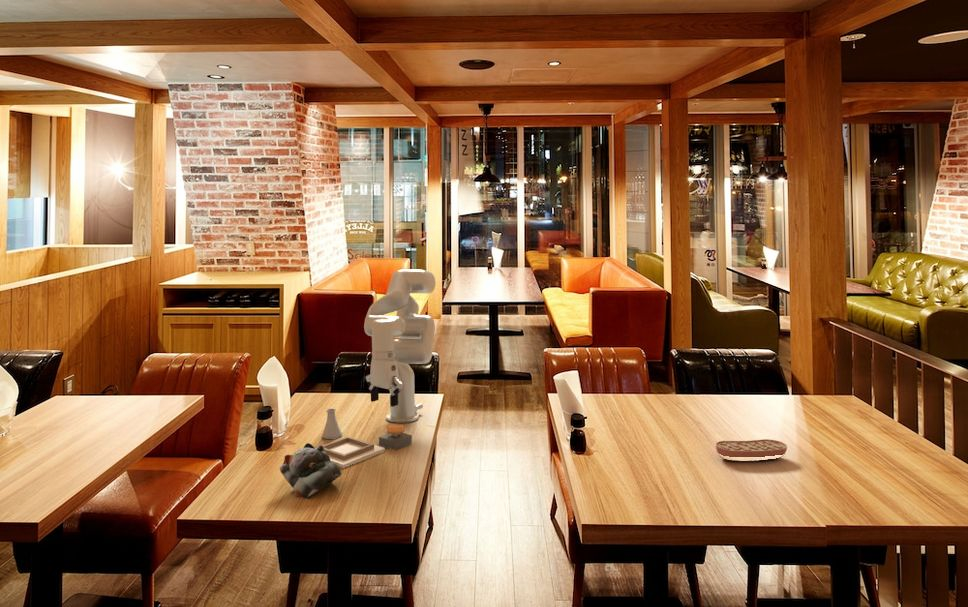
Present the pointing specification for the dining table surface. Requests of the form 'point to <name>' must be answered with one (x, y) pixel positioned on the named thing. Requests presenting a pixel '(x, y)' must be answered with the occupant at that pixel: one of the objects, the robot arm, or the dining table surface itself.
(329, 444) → the tray
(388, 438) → the button base
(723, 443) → the brown flat oval piece
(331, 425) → the flask
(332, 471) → the lucky cat figurine
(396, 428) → the button
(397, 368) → the robot arm
